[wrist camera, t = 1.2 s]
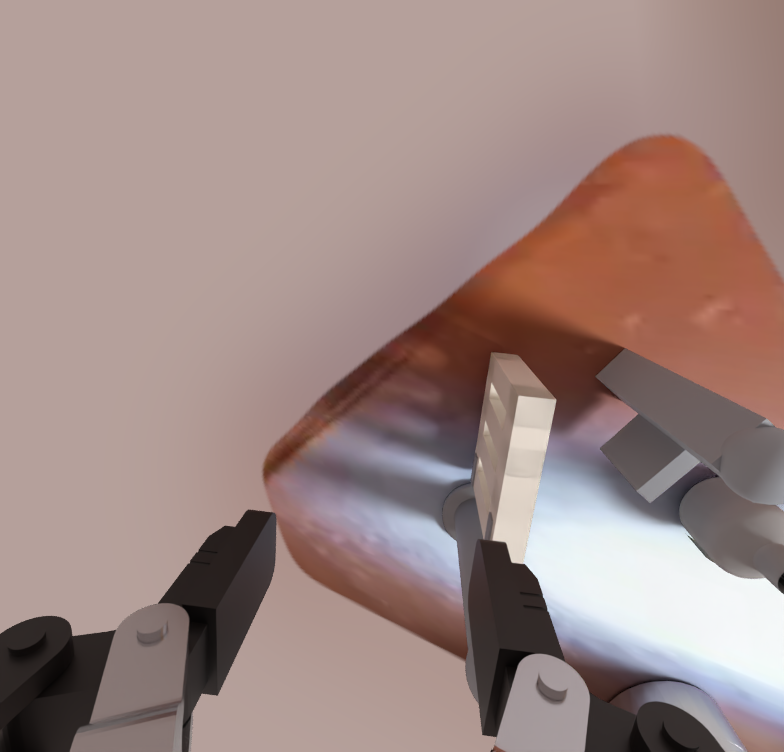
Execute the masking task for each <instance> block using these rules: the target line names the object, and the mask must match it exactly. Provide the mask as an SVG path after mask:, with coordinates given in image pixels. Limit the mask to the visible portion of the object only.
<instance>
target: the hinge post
mask: <svg viewBox="0 0 784 752" xmlns="http://www.w3.org/2000/svg"><path fill="white" fill-rule="evenodd" d="M442 516H443V524H444V527H445V529H446V531H447V532H448V534H449V535H450V536H451V537H452V538H453V539H454V540H456V541H457V548H458V558H459V567H460V577H461V587H462V596H463V606H464V615H465V625H466V635H467V644H468V653H467V657H466V677H467V682H468V685H469V688H470V690H471V692H472V694H473V696H474V698H475V699H476V701H477V702H478V703H479V700H478V692H477V683H476V674H475V666H474V657H473V648H472V639H471V631H470V622H469V613H468V591H469V583H470V577H471V571H472V565H473V559H474V553H475V547H476V542H477V540H478V539H483V534H482V529H481V524H480V519H479V514H478V509H477V504H476V499H475V493H474V488H473V487H472V486H471V483H468V484H464V485H462V486H460V487H458V488H456V489H454V490H453V491H452V492H451V493H450V494H449V495H448V497H447V498H446V500H445V502H444V505H443V509H442Z"/></svg>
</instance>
